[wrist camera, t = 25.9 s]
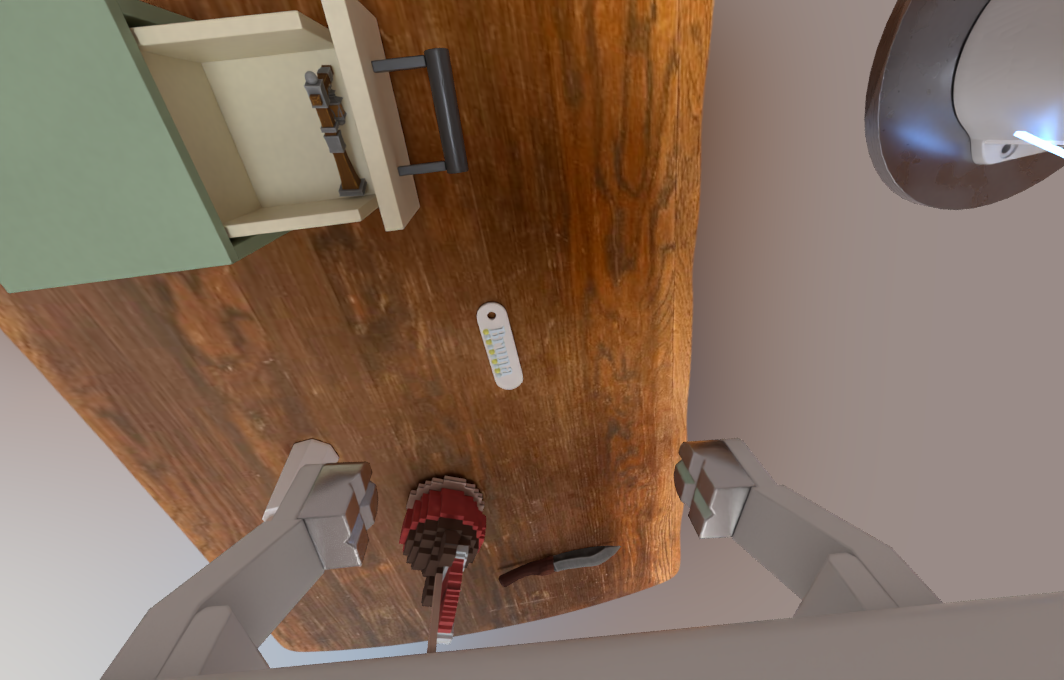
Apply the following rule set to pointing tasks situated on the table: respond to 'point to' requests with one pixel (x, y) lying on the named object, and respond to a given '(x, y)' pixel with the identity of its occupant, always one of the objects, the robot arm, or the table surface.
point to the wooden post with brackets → (333, 127)
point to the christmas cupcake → (442, 545)
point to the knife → (560, 563)
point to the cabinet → (95, 154)
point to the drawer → (295, 116)
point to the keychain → (500, 345)
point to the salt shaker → (297, 459)
